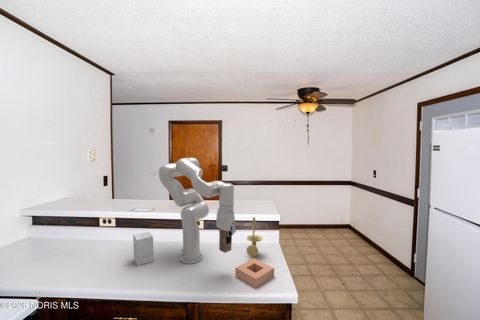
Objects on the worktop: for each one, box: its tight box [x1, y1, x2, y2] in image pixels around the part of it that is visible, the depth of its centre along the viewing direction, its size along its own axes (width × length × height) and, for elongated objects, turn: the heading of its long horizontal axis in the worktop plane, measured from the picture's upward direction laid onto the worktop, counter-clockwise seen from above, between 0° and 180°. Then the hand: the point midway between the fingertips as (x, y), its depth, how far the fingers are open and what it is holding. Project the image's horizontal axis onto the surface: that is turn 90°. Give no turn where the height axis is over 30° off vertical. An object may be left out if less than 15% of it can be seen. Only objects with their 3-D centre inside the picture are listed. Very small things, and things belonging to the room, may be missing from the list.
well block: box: [234, 258, 275, 289], centre depth 123 cm, size 14×14×4 cm
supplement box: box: [132, 231, 155, 267], centre depth 138 cm, size 9×9×15 cm
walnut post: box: [218, 229, 233, 254], centre depth 126 cm, size 4×4×13 cm
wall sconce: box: [246, 216, 264, 259], centre depth 143 cm, size 14×10×25 cm
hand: (225, 241), depth 126 cm, fingers closed on walnut post, 4 cm apart
